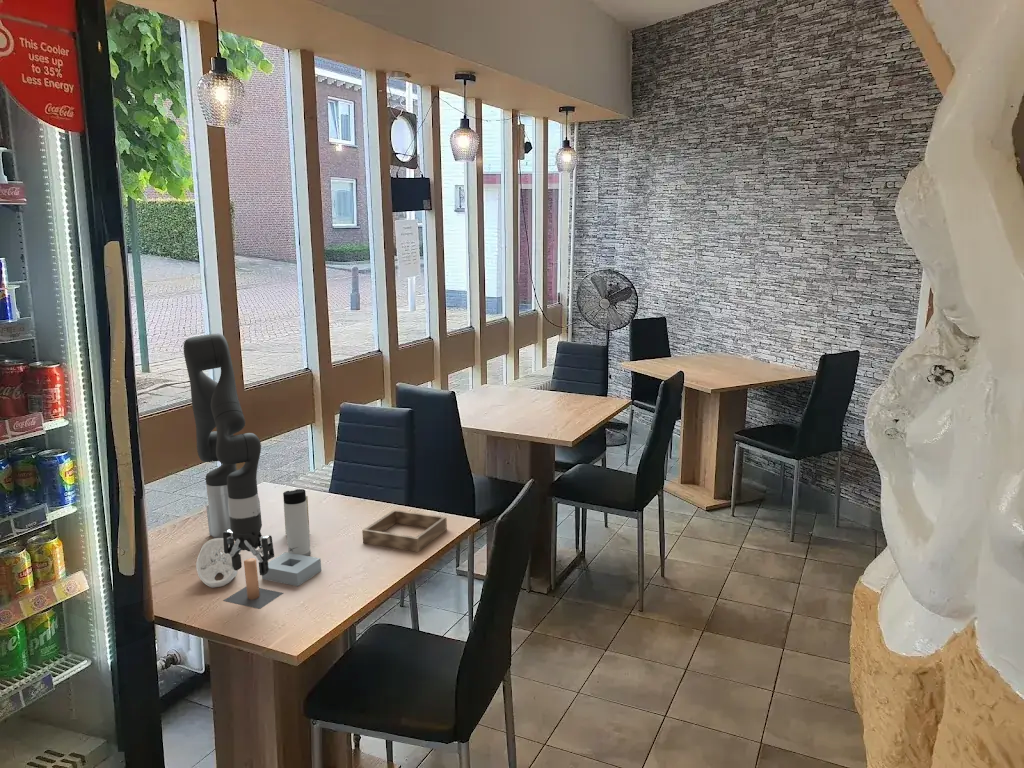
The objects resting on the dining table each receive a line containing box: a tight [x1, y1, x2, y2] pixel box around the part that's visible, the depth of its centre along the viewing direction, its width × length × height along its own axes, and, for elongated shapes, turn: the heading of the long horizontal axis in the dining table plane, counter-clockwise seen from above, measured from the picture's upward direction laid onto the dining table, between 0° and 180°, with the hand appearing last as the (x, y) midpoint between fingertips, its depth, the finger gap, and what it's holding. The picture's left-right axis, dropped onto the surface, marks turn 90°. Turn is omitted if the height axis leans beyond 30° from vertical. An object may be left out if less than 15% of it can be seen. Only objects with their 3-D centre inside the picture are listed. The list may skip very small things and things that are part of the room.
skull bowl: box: [195, 538, 239, 589], centre depth 209 cm, size 10×14×12 cm
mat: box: [222, 586, 284, 610], centre depth 198 cm, size 12×9×1 cm
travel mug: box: [282, 488, 312, 556], centre depth 222 cm, size 6×7×20 cm
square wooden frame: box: [361, 509, 448, 553], centre depth 235 cm, size 19×18×4 cm
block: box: [261, 551, 322, 587], centre depth 210 cm, size 12×10×4 cm
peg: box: [243, 557, 260, 600], centre depth 197 cm, size 3×3×10 cm
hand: (250, 571), depth 196 cm, fingers open, 8 cm apart
